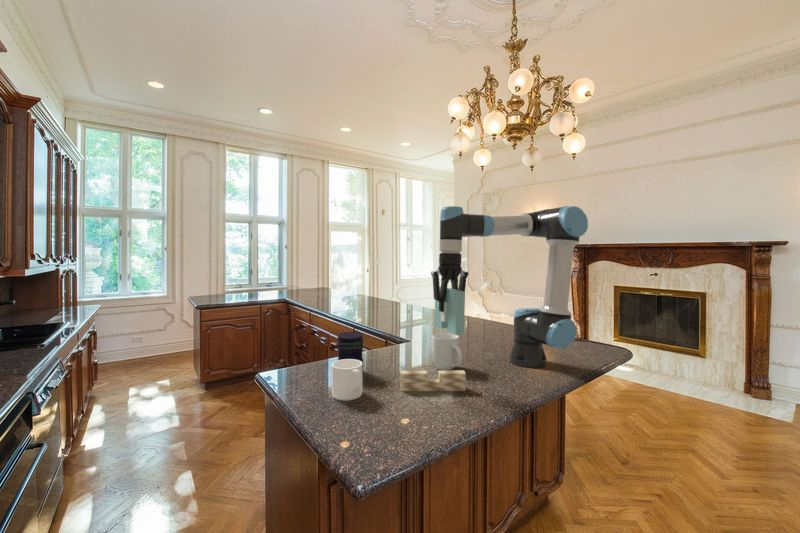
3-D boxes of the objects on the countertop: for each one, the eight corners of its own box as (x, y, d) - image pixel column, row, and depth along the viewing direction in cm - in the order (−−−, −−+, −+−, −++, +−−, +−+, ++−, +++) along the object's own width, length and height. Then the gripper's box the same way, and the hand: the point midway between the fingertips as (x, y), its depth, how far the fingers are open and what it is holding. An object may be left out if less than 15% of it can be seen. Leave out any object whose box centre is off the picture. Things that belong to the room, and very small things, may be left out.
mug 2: (471, 372, 138) (471, 339, 137) (449, 377, 132) (450, 343, 131) (446, 361, 150) (446, 331, 150) (425, 366, 144) (425, 334, 144)
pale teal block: (463, 334, 114) (465, 291, 114) (455, 335, 113) (456, 291, 113) (441, 324, 129) (442, 286, 129) (434, 325, 128) (435, 286, 128)
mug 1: (326, 392, 117) (326, 362, 117) (353, 386, 123) (353, 357, 123) (343, 406, 107) (343, 373, 107) (372, 398, 113) (372, 367, 112)
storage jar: (368, 373, 136) (368, 334, 136) (348, 379, 129) (348, 339, 128) (352, 367, 143) (352, 330, 142) (332, 373, 136) (332, 334, 135)
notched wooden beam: (463, 387, 122) (464, 370, 122) (465, 390, 119) (465, 373, 119) (400, 387, 122) (400, 370, 122) (400, 391, 119) (400, 373, 119)
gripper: (465, 252, 126) (463, 317, 127) (424, 251, 121) (422, 319, 122) (476, 253, 119) (474, 322, 120) (433, 252, 114) (431, 324, 115)
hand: (448, 320), depth 121 cm, fingers closed on pale teal block, 3 cm apart
